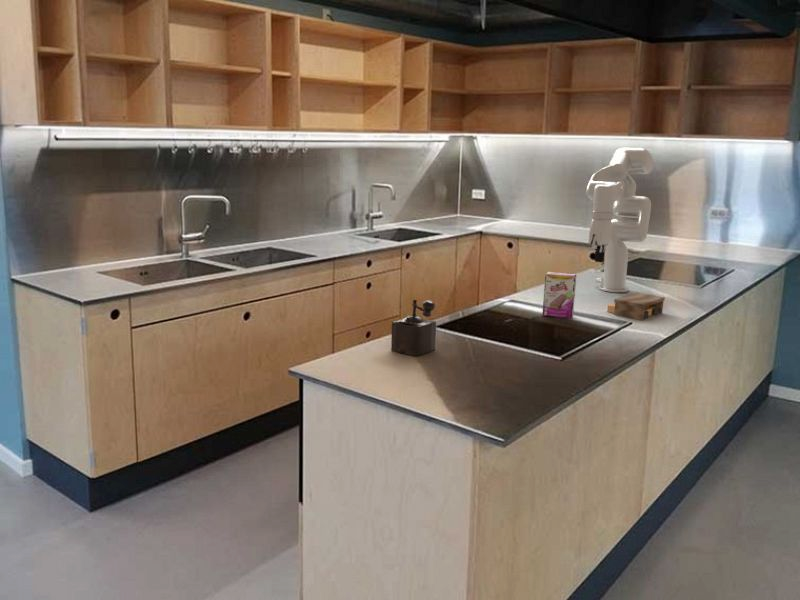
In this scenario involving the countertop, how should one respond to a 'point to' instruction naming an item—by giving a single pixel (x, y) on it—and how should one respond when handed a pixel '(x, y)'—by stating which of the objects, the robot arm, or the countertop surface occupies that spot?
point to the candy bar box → (559, 295)
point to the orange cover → (648, 308)
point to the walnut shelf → (638, 305)
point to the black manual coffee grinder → (414, 332)
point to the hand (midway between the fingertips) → (599, 261)
